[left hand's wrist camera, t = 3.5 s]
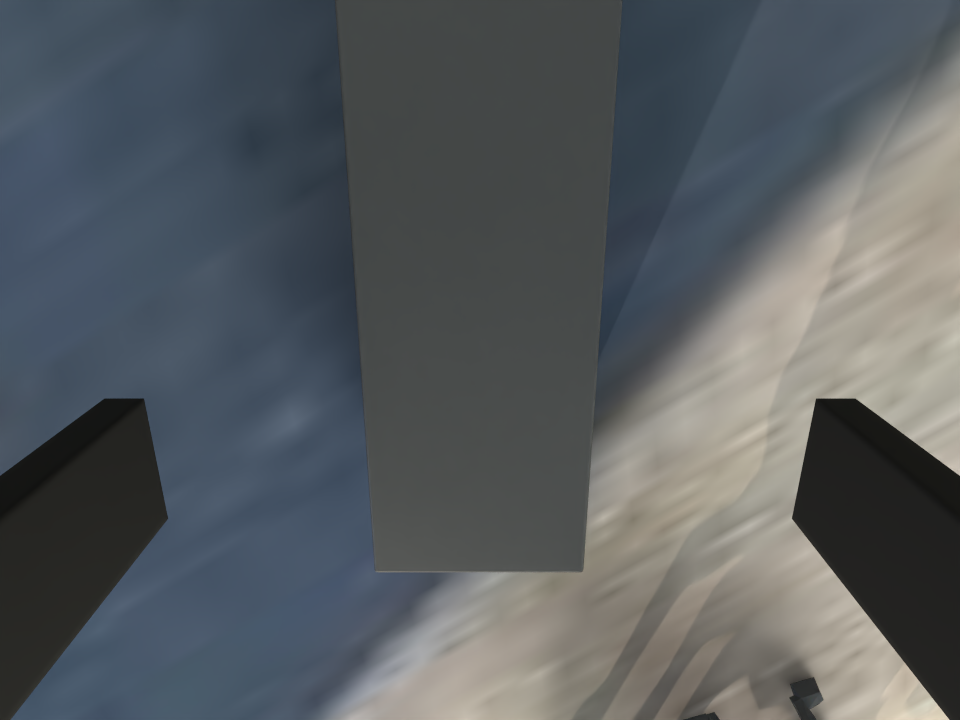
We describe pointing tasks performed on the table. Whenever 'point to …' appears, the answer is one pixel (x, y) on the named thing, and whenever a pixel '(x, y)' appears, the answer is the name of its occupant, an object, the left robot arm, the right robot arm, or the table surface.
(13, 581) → the left robot arm
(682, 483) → the table surface
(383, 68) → the bar
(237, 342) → the table surface
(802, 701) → the toy
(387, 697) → the table surface
